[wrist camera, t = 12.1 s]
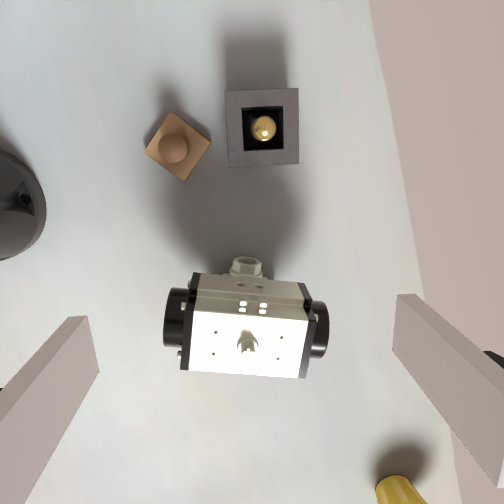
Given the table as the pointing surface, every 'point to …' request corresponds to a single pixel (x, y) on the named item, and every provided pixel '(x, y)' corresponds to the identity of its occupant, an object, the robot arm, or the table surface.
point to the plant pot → (397, 491)
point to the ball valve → (245, 323)
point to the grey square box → (286, 126)
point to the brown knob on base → (177, 146)
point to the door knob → (260, 129)
